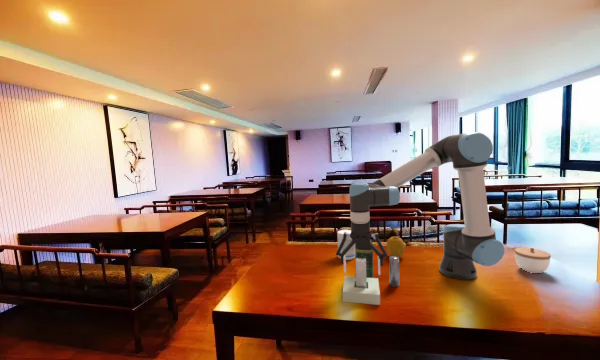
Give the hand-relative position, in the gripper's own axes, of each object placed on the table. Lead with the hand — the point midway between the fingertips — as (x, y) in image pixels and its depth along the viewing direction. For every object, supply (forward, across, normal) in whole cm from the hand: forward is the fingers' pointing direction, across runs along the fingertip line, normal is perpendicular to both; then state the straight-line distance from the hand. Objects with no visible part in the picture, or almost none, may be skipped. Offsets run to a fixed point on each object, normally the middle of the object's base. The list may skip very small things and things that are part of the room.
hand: (361, 272), depth 107 cm
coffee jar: (+9, -1, -14) cm, 17 cm away
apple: (+10, -18, -44) cm, 48 cm away
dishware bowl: (+11, -77, -36) cm, 86 cm away
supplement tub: (+9, +9, -40) cm, 42 cm away
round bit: (+9, -14, -11) cm, 20 cm away
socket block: (+9, 0, 0) cm, 9 cm away
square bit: (+9, 0, 0) cm, 9 cm away
